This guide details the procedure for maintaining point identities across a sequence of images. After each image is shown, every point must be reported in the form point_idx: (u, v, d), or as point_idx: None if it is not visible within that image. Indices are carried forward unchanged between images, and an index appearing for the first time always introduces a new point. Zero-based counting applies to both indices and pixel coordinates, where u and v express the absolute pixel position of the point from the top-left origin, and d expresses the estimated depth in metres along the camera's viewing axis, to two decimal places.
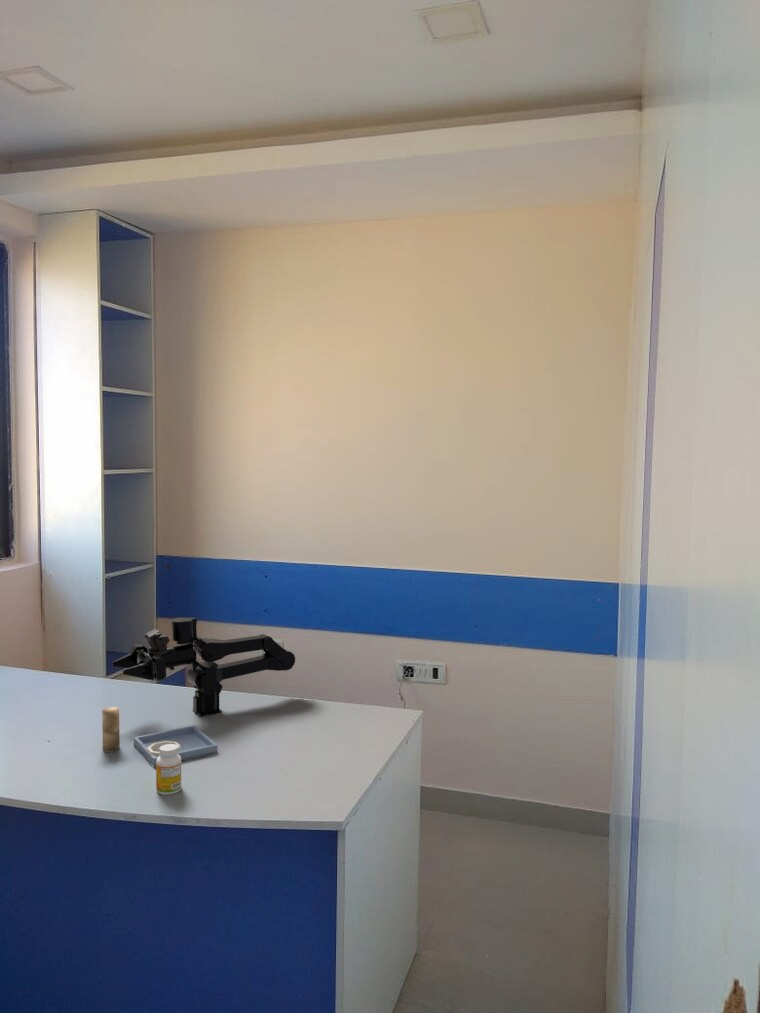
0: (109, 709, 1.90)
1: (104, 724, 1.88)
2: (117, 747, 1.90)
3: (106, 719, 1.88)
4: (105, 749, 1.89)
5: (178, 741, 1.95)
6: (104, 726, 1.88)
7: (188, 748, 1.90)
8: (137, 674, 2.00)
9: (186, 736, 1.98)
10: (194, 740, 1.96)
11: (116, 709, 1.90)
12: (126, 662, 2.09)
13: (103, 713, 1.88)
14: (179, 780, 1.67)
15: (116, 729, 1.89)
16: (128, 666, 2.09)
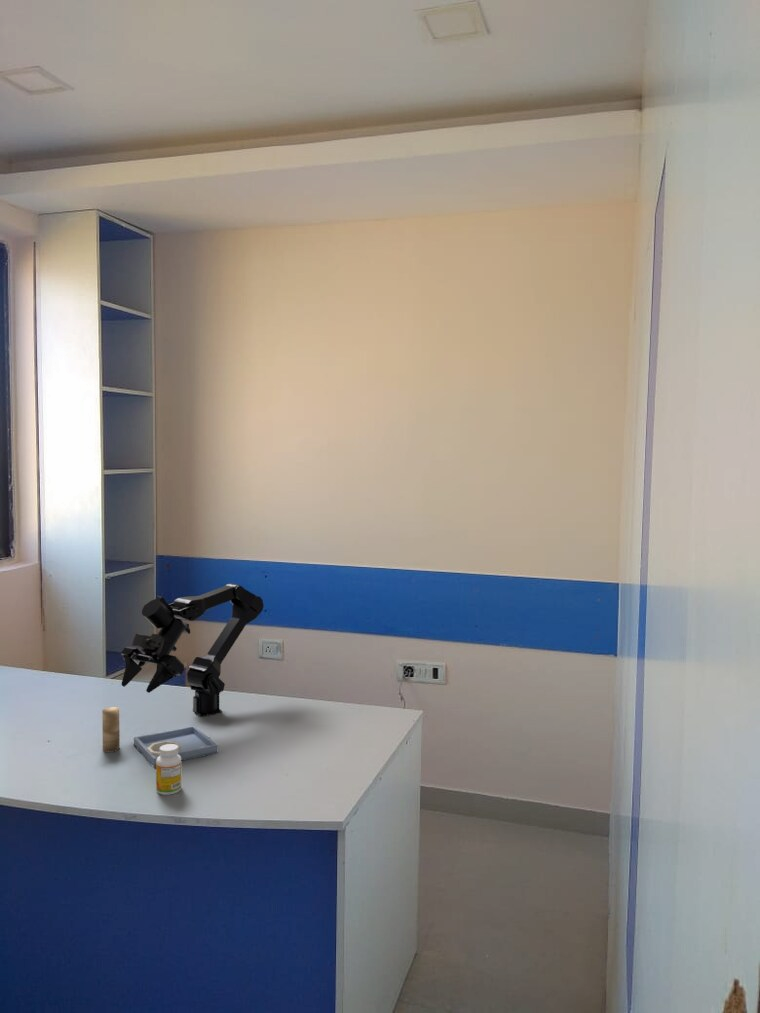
0: (109, 709, 1.90)
1: (104, 724, 1.88)
2: (117, 747, 1.90)
3: (106, 719, 1.88)
4: (105, 749, 1.89)
5: (178, 741, 1.95)
6: (104, 726, 1.88)
7: (188, 748, 1.90)
8: (159, 683, 1.96)
9: (186, 736, 1.98)
10: (194, 740, 1.96)
11: (116, 709, 1.90)
12: (131, 673, 2.01)
13: (103, 713, 1.88)
14: (179, 780, 1.67)
15: (116, 729, 1.89)
16: (134, 674, 2.02)
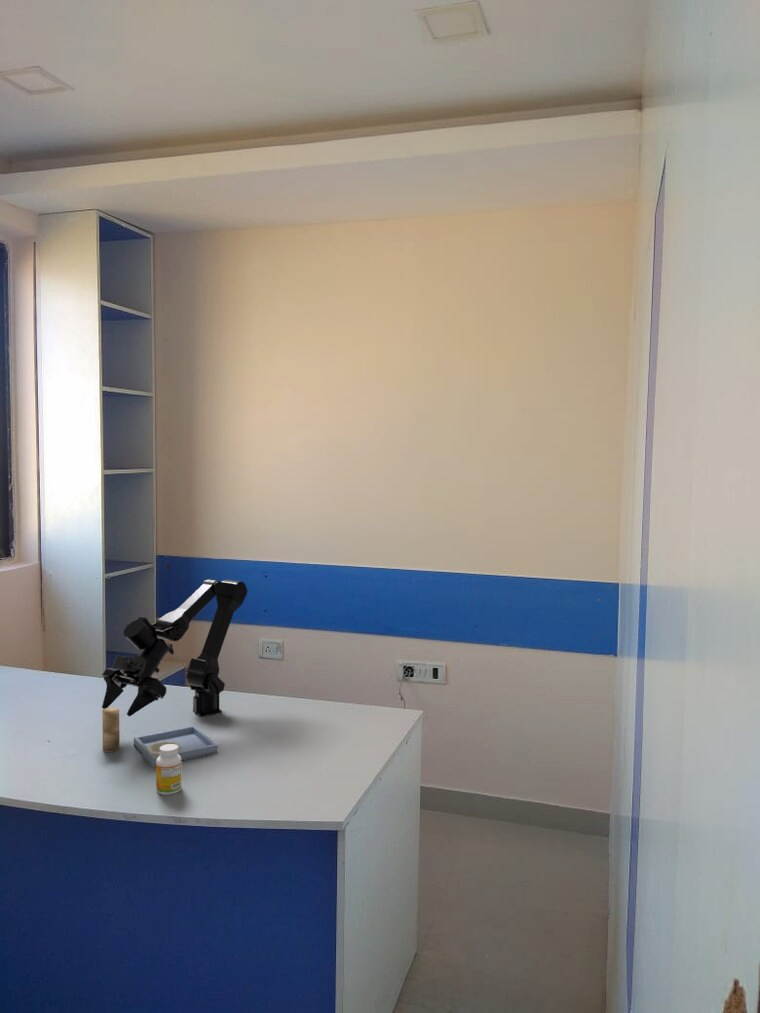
0: (109, 709, 1.90)
1: (104, 724, 1.88)
2: (117, 747, 1.90)
3: (106, 719, 1.88)
4: (105, 749, 1.89)
5: (178, 741, 1.95)
6: (104, 726, 1.88)
7: (188, 748, 1.90)
8: (141, 706, 1.91)
9: (186, 736, 1.98)
10: (194, 740, 1.96)
11: (116, 709, 1.90)
12: (112, 696, 1.96)
13: (103, 713, 1.88)
14: (179, 780, 1.67)
15: (116, 729, 1.89)
16: (116, 696, 1.97)
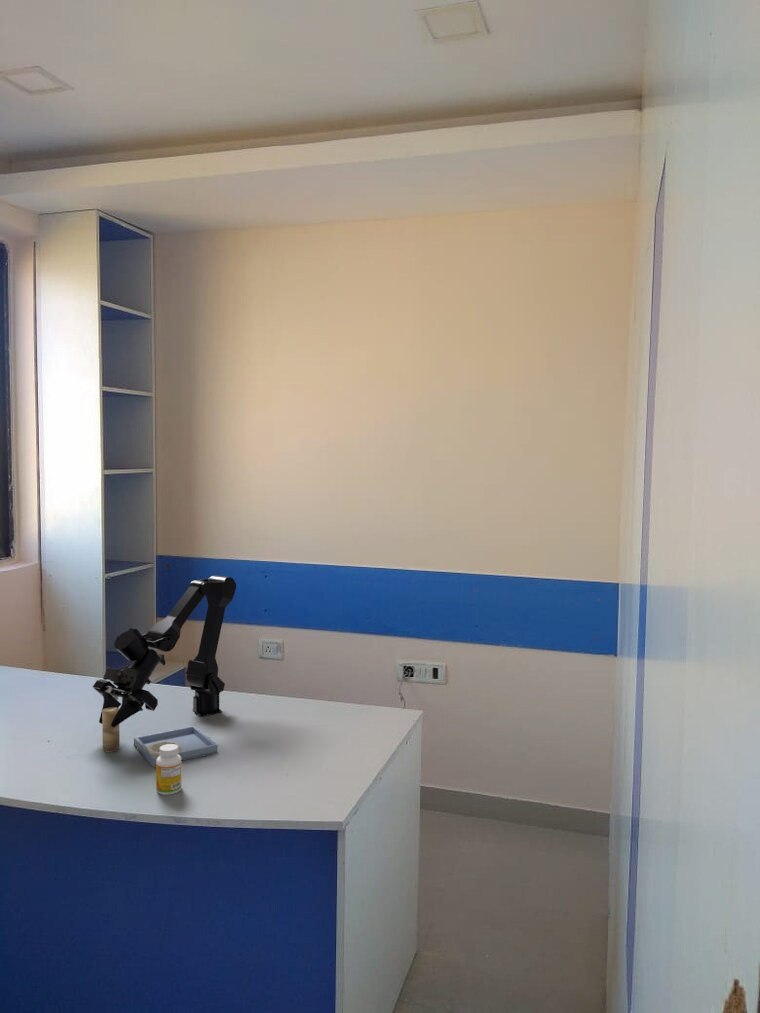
0: (109, 709, 1.90)
1: (104, 724, 1.88)
2: (117, 747, 1.90)
3: (106, 719, 1.88)
4: (105, 749, 1.89)
5: (178, 741, 1.95)
6: (104, 726, 1.88)
7: (188, 748, 1.90)
8: (125, 717, 1.90)
9: (186, 736, 1.98)
10: (194, 740, 1.96)
11: (116, 709, 1.90)
12: None
13: (103, 713, 1.88)
14: (179, 780, 1.67)
15: (116, 729, 1.89)
16: None
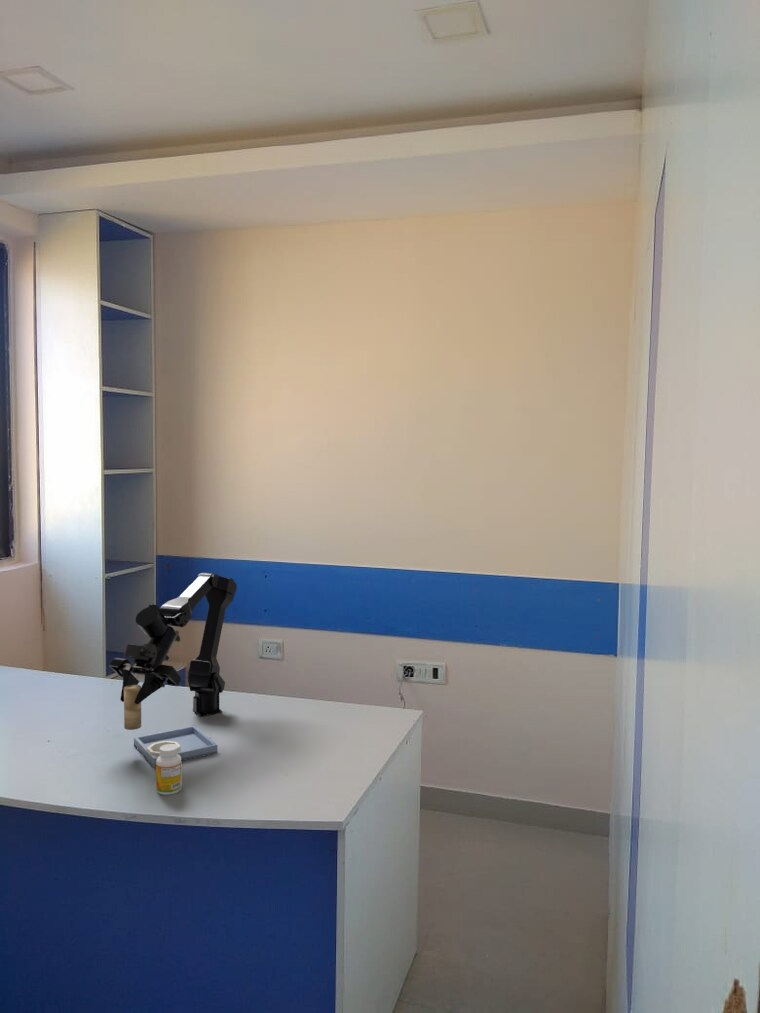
0: (130, 686, 1.87)
1: (126, 702, 1.85)
2: (140, 725, 1.87)
3: (129, 696, 1.85)
4: (128, 727, 1.85)
5: (178, 741, 1.95)
6: (126, 704, 1.85)
7: (188, 748, 1.90)
8: (148, 693, 1.87)
9: (186, 736, 1.98)
10: (194, 740, 1.96)
11: (138, 686, 1.87)
12: None
13: (125, 690, 1.85)
14: (179, 780, 1.67)
15: (139, 706, 1.86)
16: None
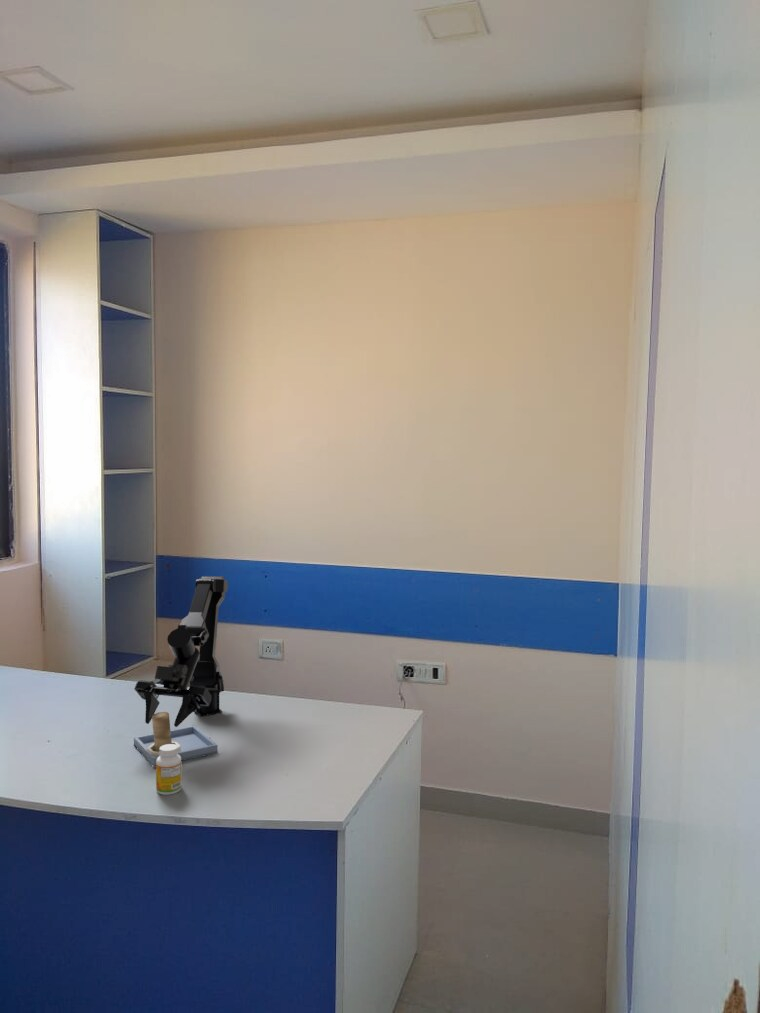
0: (158, 715, 1.85)
1: (157, 731, 1.83)
2: None
3: (160, 725, 1.83)
4: None
5: (178, 741, 1.95)
6: (157, 733, 1.83)
7: (188, 748, 1.90)
8: (185, 715, 1.86)
9: (186, 736, 1.98)
10: (194, 740, 1.96)
11: (166, 713, 1.85)
12: (152, 709, 1.88)
13: (155, 720, 1.83)
14: (179, 780, 1.67)
15: (169, 733, 1.85)
16: (155, 709, 1.89)
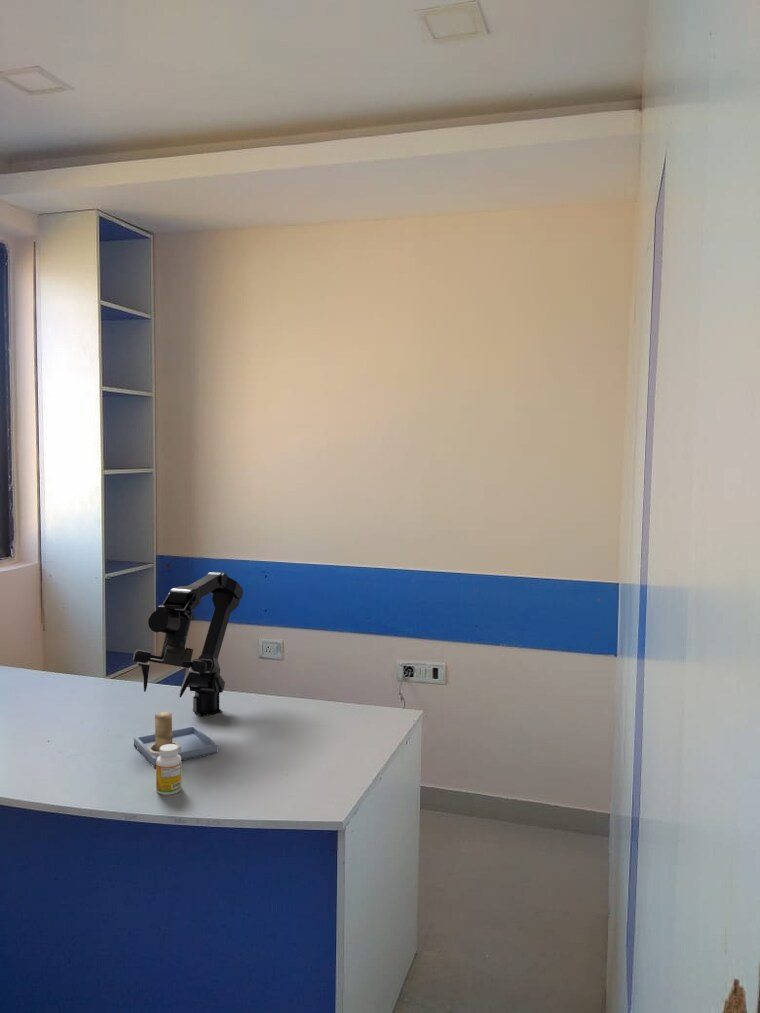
0: (161, 714, 1.85)
1: (159, 730, 1.84)
2: None
3: (162, 724, 1.83)
4: None
5: (178, 741, 1.95)
6: (159, 732, 1.84)
7: (188, 748, 1.90)
8: None
9: (186, 736, 1.98)
10: (194, 740, 1.96)
11: (168, 713, 1.86)
12: None
13: (158, 719, 1.84)
14: (179, 780, 1.67)
15: (171, 733, 1.85)
16: None
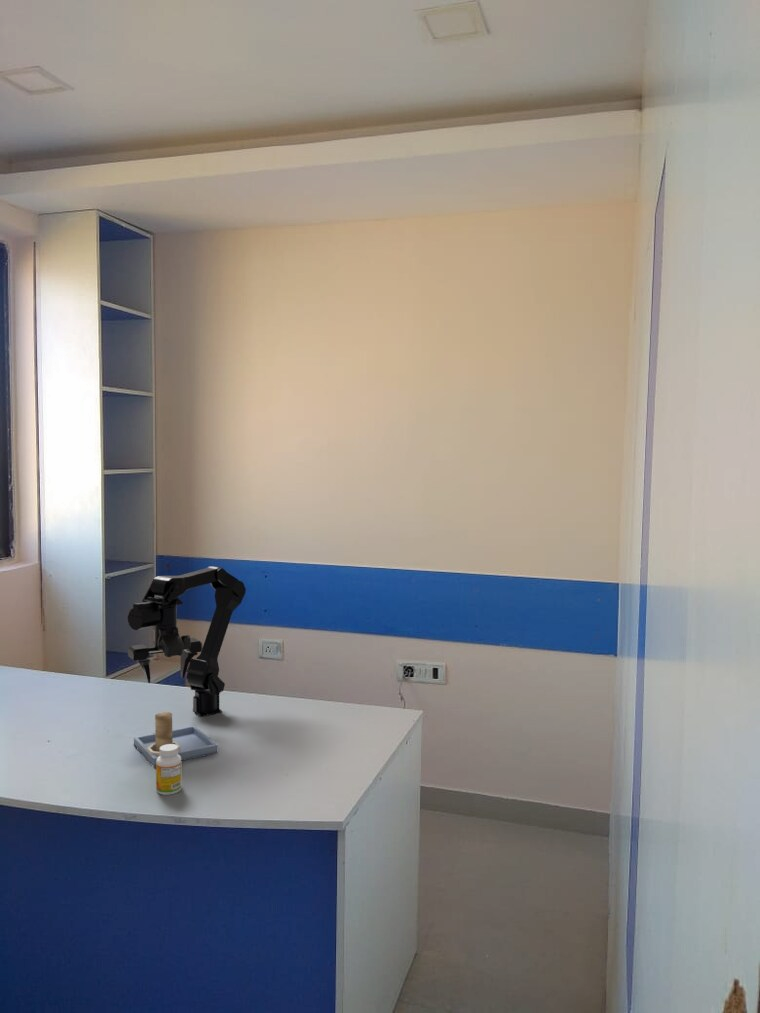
0: (161, 714, 1.85)
1: (159, 730, 1.83)
2: None
3: (163, 725, 1.83)
4: None
5: (178, 741, 1.95)
6: (159, 732, 1.84)
7: (188, 748, 1.90)
8: None
9: (186, 736, 1.98)
10: (194, 740, 1.96)
11: (169, 714, 1.86)
12: None
13: (158, 719, 1.83)
14: (179, 780, 1.67)
15: (171, 733, 1.85)
16: None
